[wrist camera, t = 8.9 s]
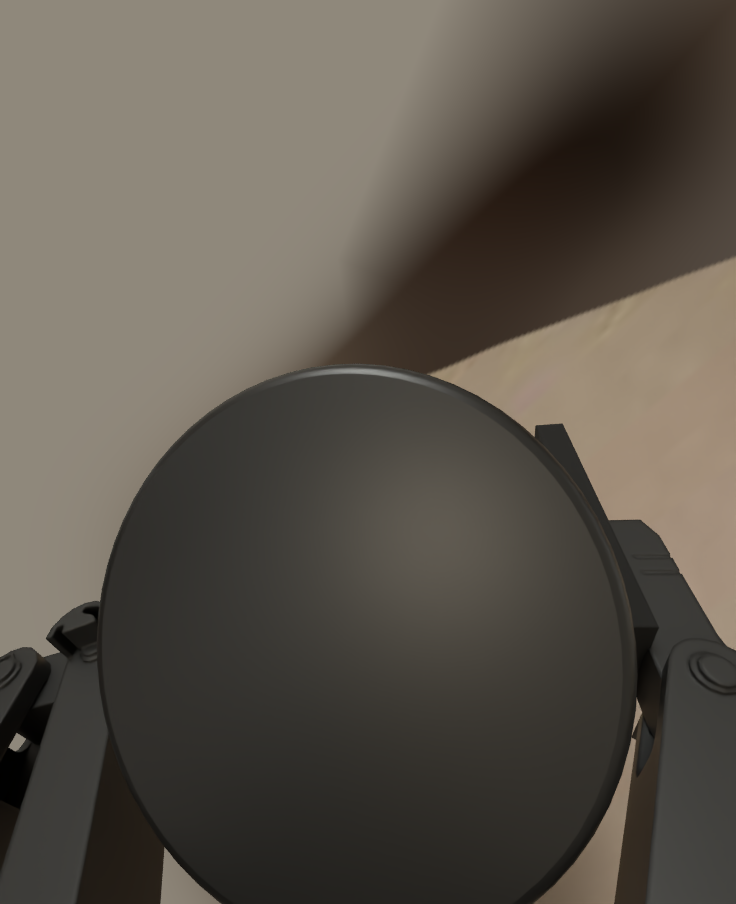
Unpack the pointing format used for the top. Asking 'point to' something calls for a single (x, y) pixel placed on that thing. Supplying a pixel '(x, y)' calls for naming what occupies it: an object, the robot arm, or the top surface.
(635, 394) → the top surface
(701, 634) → the robot arm
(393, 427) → the jar
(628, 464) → the top surface
